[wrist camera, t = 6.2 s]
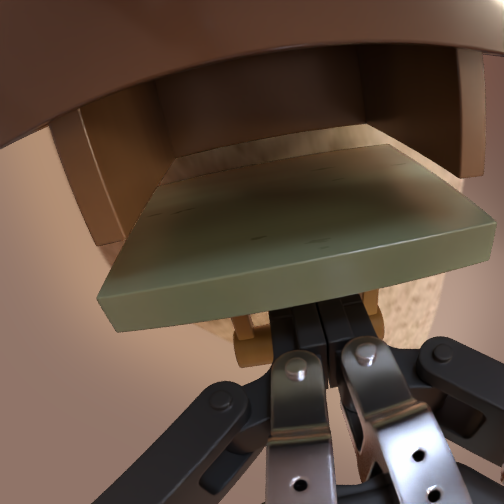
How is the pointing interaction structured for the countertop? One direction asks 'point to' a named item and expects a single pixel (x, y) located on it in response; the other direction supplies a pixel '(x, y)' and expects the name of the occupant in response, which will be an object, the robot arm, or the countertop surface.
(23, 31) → the cabinet
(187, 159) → the countertop surface
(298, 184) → the drawer
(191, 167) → the countertop surface
